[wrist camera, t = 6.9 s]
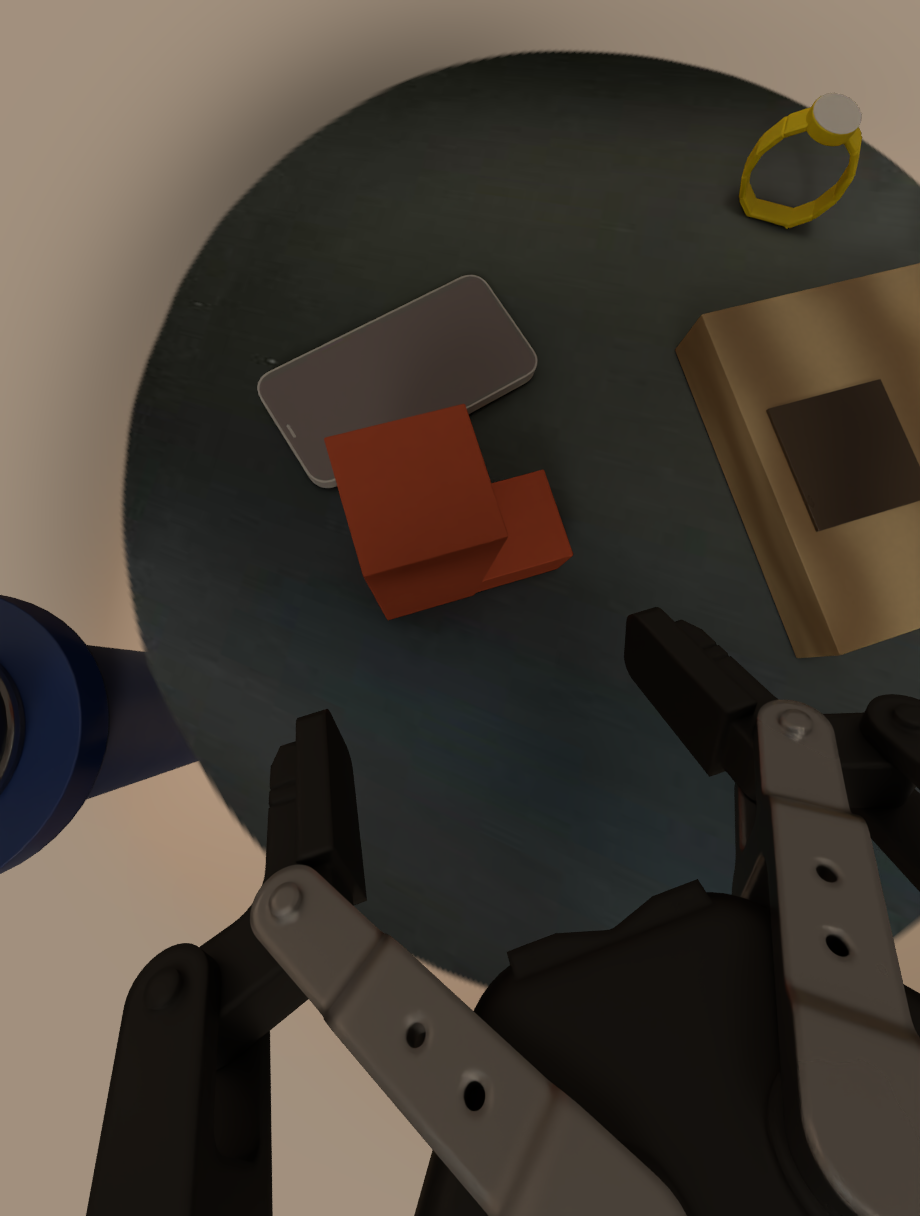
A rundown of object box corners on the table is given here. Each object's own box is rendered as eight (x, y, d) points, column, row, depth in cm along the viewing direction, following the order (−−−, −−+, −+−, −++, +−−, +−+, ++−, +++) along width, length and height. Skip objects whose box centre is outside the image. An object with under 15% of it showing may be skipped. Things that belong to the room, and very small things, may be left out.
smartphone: (545, 367, 29) (318, 491, 26) (541, 376, 30) (321, 497, 27) (477, 268, 29) (249, 380, 27) (475, 280, 30) (254, 390, 28)
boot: (387, 620, 27) (363, 577, 16) (362, 535, 27) (323, 436, 16) (558, 570, 28) (645, 498, 17) (530, 489, 28) (597, 370, 18)
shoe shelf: (796, 658, 28) (917, 650, 21) (674, 349, 31) (747, 252, 24) (1051, 572, 30) (1237, 539, 23) (918, 290, 33) (1051, 185, 26)
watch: (812, 214, 33) (896, 112, 27) (804, 247, 33) (888, 151, 27) (728, 183, 33) (795, 74, 27) (719, 216, 32) (785, 113, 27)
